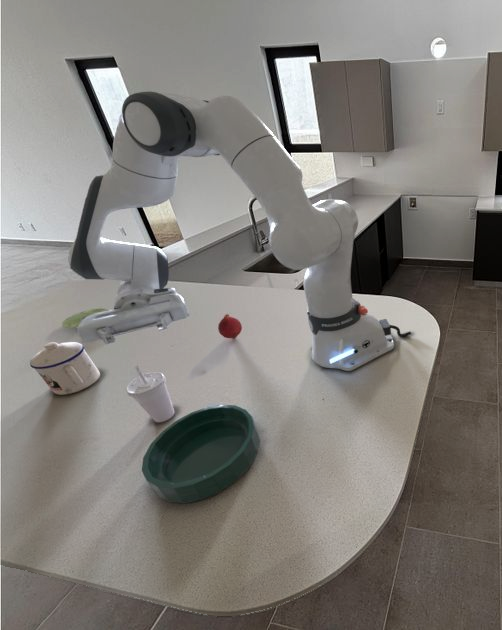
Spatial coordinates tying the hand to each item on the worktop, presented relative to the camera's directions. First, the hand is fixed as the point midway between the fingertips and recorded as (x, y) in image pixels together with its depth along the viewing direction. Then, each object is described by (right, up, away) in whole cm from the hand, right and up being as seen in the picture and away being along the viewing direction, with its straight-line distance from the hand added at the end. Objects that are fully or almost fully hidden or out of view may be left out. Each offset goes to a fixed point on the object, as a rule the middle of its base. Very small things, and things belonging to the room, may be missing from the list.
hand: (135, 333), depth 73 cm
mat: (-41, +2, +31) cm, 52 cm away
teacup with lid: (-20, -13, +7) cm, 25 cm away
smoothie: (+7, -18, -1) cm, 19 cm away
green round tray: (+23, -23, -10) cm, 34 cm away
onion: (+8, -3, +24) cm, 25 cm away
